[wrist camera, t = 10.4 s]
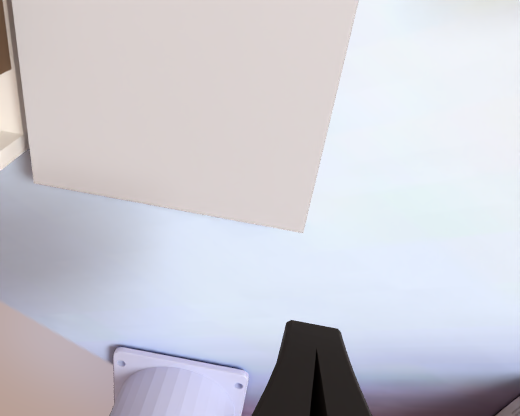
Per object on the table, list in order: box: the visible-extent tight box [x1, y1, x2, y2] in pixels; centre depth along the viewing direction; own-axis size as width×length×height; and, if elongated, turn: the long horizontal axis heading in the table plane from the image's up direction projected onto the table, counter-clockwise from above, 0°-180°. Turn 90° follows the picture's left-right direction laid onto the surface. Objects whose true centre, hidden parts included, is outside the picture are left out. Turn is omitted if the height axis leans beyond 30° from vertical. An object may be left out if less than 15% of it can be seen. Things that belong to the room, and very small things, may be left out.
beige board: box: [12, 0, 359, 233], centre depth 18 cm, size 14×12×2 cm
